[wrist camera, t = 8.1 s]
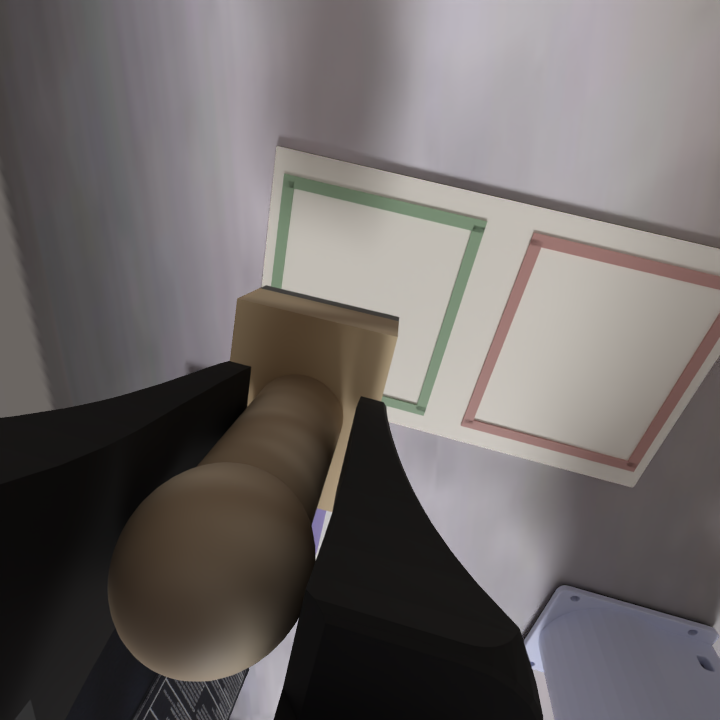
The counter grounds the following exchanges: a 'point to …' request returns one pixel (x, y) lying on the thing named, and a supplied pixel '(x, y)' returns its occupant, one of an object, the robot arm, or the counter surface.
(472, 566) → the counter surface
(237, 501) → the stamp
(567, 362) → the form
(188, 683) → the small box
